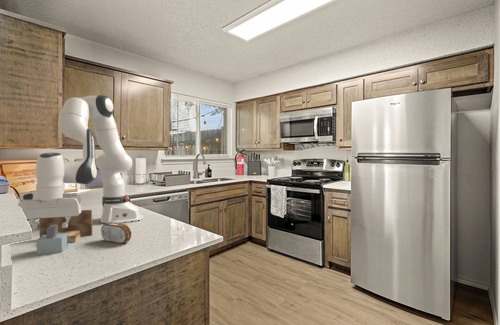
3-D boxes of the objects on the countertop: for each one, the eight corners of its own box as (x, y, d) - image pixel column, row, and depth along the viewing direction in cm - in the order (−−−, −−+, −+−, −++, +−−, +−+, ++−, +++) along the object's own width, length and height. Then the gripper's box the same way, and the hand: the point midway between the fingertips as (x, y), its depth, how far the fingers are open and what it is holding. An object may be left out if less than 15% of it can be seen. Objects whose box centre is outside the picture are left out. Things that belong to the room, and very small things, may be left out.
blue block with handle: (67, 247, 104) (66, 223, 103) (61, 252, 98) (61, 227, 98) (43, 249, 101) (42, 225, 101) (36, 255, 95) (36, 229, 95)
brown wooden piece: (92, 234, 120) (92, 209, 120) (87, 240, 111) (86, 214, 111) (41, 239, 113) (40, 212, 112) (31, 246, 104) (30, 217, 104)
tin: (131, 243, 109) (131, 224, 109) (126, 245, 106) (125, 226, 106) (105, 239, 114) (105, 220, 114) (99, 241, 111) (99, 222, 111)
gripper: (83, 191, 105) (83, 224, 106) (22, 193, 98) (23, 228, 99) (79, 194, 99) (79, 228, 100) (14, 196, 92) (14, 233, 93)
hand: (50, 228), depth 99 cm, fingers open, 8 cm apart
